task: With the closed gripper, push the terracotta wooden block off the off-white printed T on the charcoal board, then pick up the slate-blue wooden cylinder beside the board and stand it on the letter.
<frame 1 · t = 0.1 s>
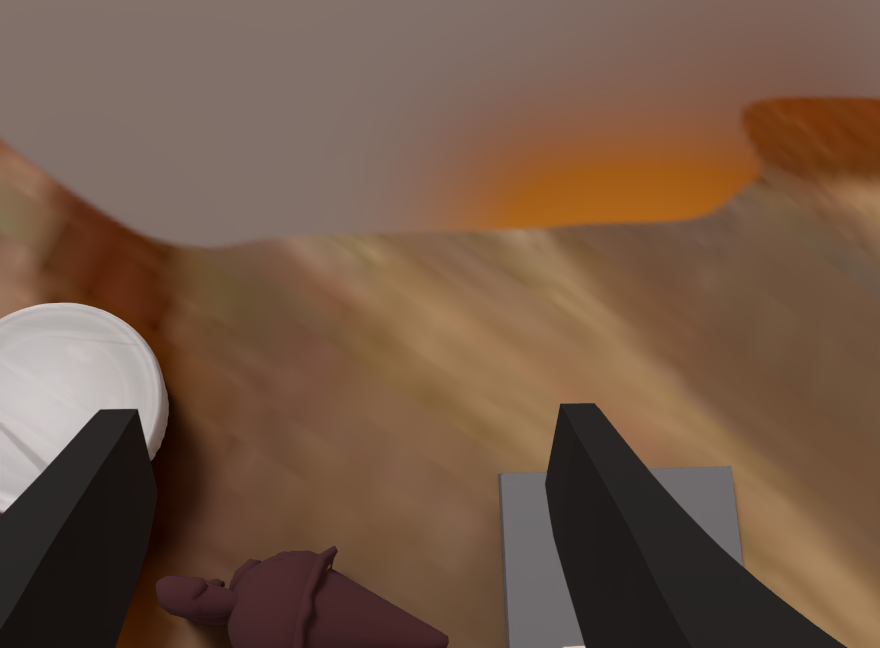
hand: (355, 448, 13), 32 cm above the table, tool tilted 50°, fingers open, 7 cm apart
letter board: (625, 628, 44), on the table
ramekin: (87, 417, 44), on the table
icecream: (310, 607, 43), on the table
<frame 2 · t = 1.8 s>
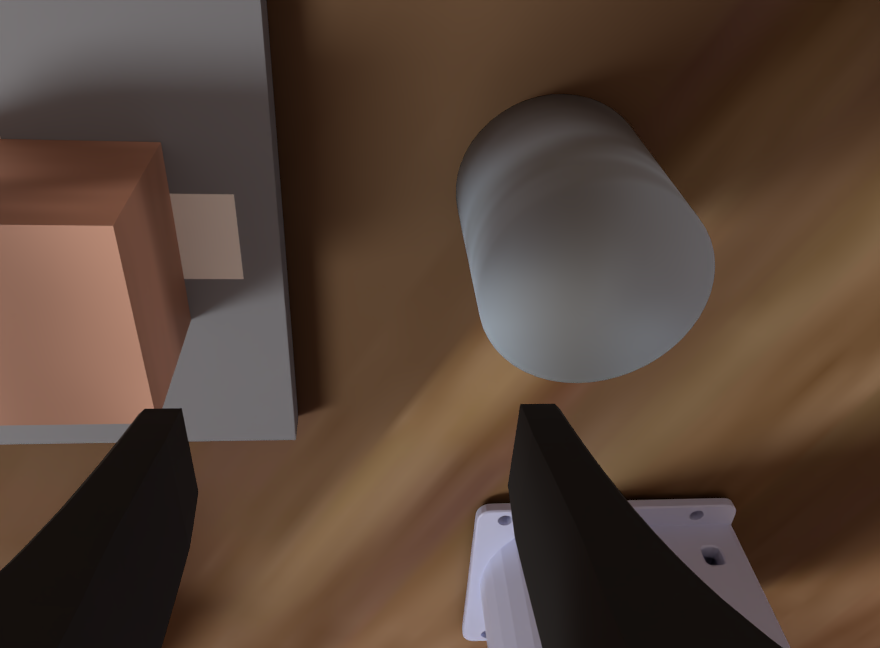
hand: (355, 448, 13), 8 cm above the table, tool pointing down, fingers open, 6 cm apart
slate cylinder: (550, 187, 20), on the table
terracotta block: (72, 237, 19), point 1 cm above the table, touching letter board
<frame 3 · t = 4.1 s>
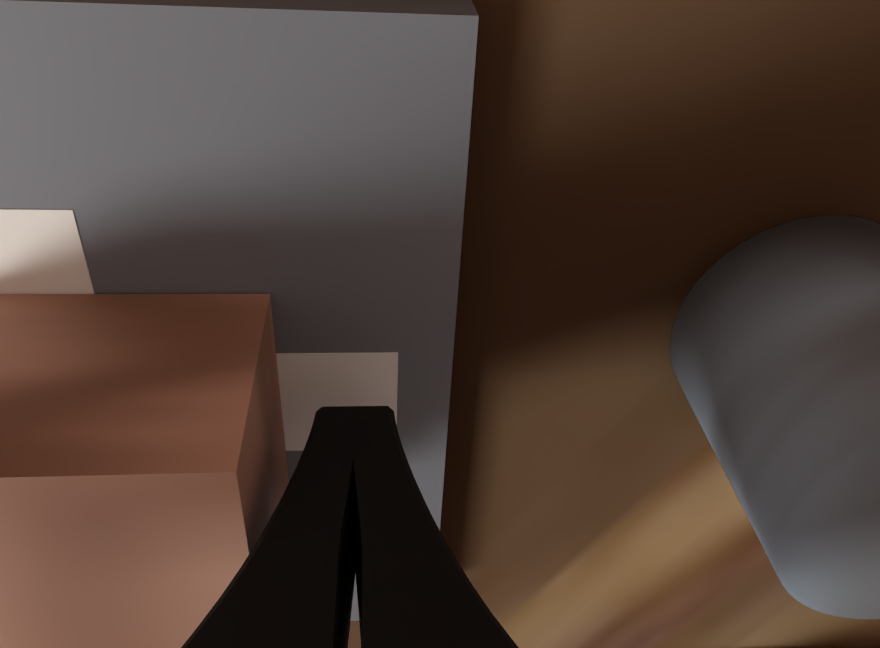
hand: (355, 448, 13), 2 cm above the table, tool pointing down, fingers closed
slate cylinder: (791, 324, 15), on the table
terracotta block: (142, 407, 14), point 1 cm above the table, touching gripper
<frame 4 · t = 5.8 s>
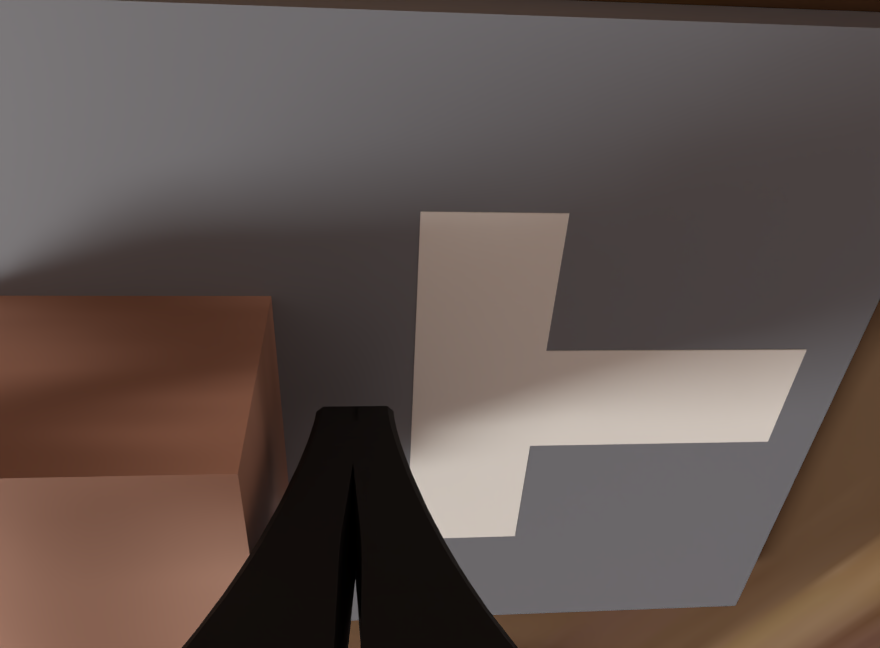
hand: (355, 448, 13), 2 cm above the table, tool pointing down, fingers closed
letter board: (380, 368, 15), on the table
terracotta block: (143, 409, 14), point 1 cm above the table, touching gripper, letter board
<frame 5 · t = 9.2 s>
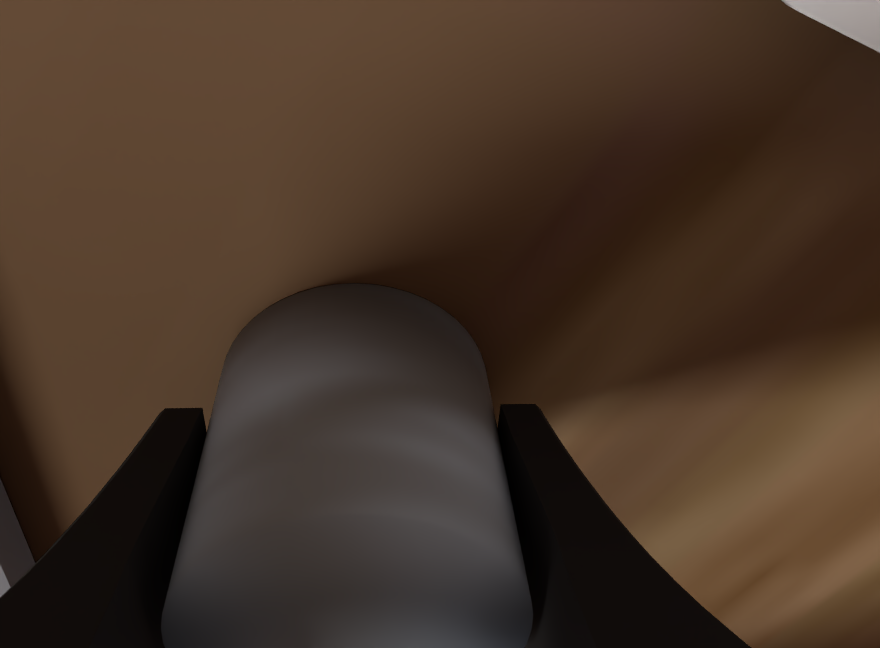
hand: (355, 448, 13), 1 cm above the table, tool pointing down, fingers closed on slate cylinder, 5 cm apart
slate cylinder: (356, 394, 14), on the table, touching gripper
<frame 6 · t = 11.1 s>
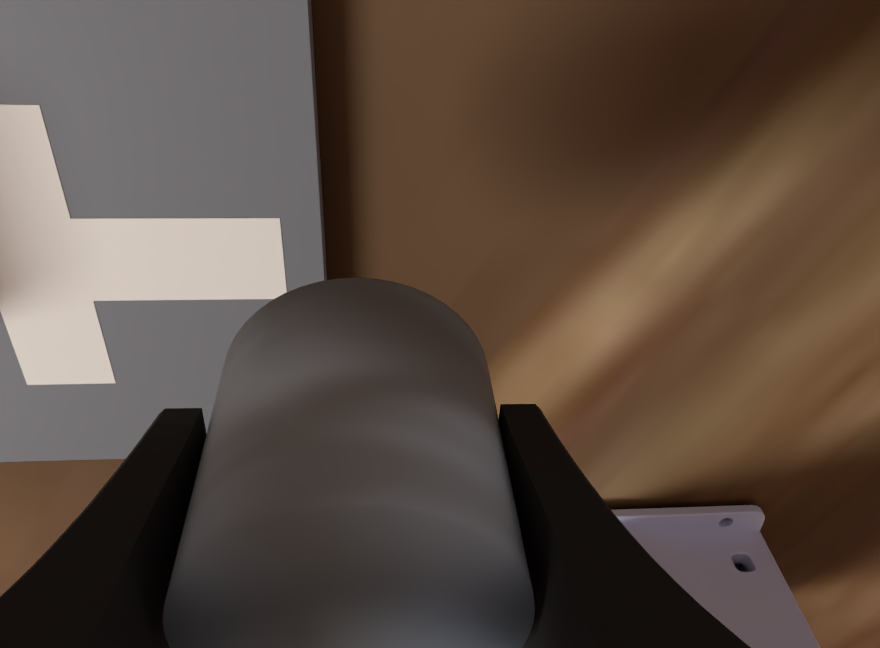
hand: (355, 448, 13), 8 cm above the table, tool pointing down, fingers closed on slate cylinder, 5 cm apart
slate cylinder: (358, 389, 14), point 7 cm above the table, touching gripper
when the fingers open (3 cm above the table, at t = 12.9 s): slate cylinder stays where it is, resting on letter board.
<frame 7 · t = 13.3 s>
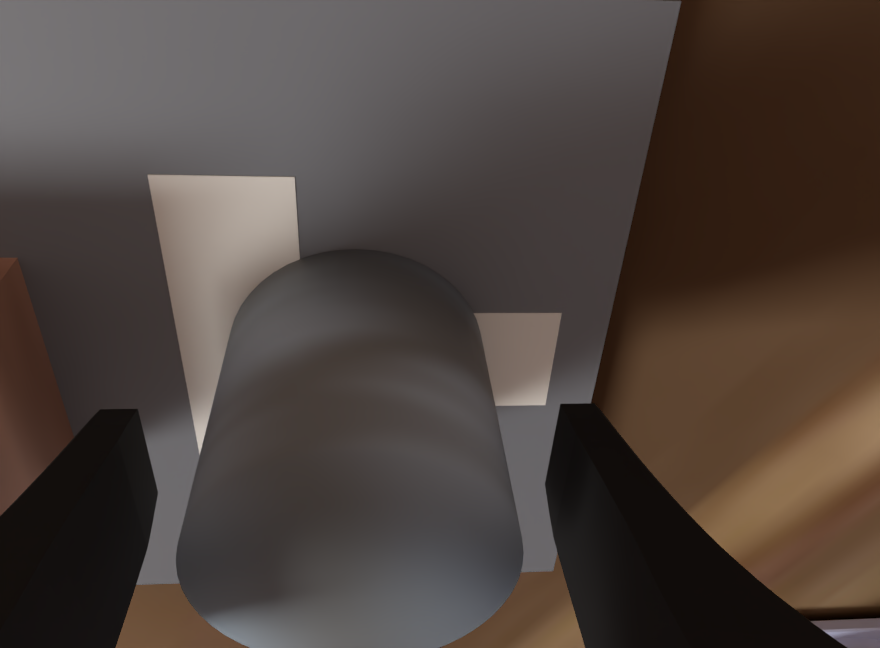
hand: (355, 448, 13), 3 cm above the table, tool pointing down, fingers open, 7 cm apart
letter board: (162, 333, 16), on the table
slate cylinder: (357, 358, 15), point 1 cm above the table, touching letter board
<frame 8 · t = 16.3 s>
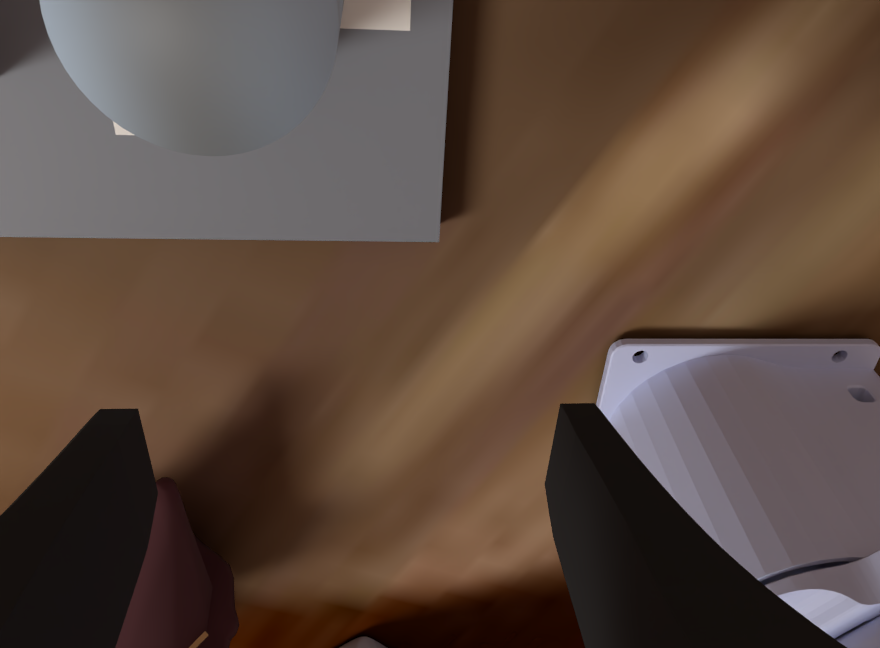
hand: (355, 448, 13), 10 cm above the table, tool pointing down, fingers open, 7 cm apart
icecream: (155, 531, 30), on the table
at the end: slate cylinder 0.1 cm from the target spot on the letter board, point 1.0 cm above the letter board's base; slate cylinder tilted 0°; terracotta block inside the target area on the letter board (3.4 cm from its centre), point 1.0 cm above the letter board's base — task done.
